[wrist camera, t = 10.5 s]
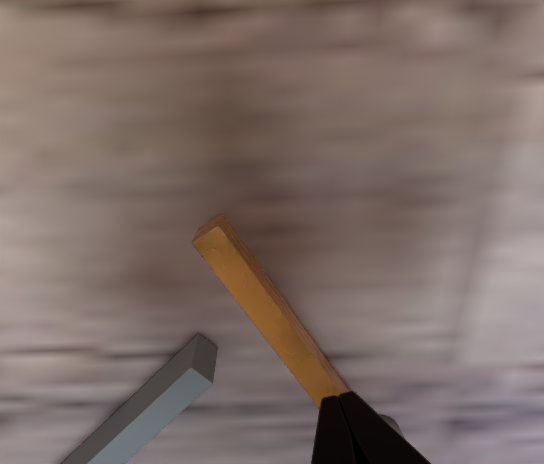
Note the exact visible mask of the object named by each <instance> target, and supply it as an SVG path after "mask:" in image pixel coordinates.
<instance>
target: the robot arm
mask: <svg viewBox="0 0 544 464" xmlns="http://www.w3.org/2000/svg"><path fill="white" fill-rule="evenodd" d="M311 464H431V463H430V462H429V461H428V460H427V459H426V458H425V457H424V456H422V455H421V454H420V453H419V452H418V451H417V450H416V449H415V448H414V447H413V446H412V445H411V444H410V443H409V442H408V441H406V440H405V439H404V438H403V437H402V436H401V435H400V434H399V433H398V432H397V431H396V430H395V429H394V428H393V427H391V426H390V425H389V424H388V423H387V422H386V421H385V420H384V419H383V418H382V417H381V416H380V415H379V414H378V413H377V412H375V411H374V410H373V409H372V408H371V407H370V406H369V405H368V404H367V403H366V402H365V401H364V400H363V399H362V398H360V397H359V396H358V395H357V394H356V393H355V392H354V391H348V392H344V393H340V394H339V395H338V396H337V395H332V396H328V397H324V398H322V400H321V404H320V410H319V417H318V423H317V429H316V435H315V442H314V448H313V454H312V461H311Z"/></svg>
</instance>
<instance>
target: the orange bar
mask: <svg viewBox="0 0 544 464" xmlns="http://www.w3.org/2000/svg"><path fill="white" fill-rule="evenodd" d="M192 244H193V245H194V247H195V248H196V249H197V251H198V252H199V253H200V254H201V256H202V257H203V258H204V260H205V261H206V262H207V264H208V265H209V266H210V267H211V269H212V270H213V271H214V273H215V274H216V275H217V277H218V278H219V279H220V280H221V282H222V283H223V284H224V286H225V287H226V288H227V290H228V291H229V292H230V293H231V295H232V296H233V297H234V299H235V300H236V301H237V302H238V304H239V305H240V306H241V308H242V309H243V310H244V312H245V313H246V314H247V315H248V317H249V318H250V319H251V321H252V322H253V323H254V325H255V326H256V327H257V328H258V330H259V331H260V332H261V334H262V335H263V336H264V338H265V339H266V340H267V341H268V343H269V344H270V345H271V347H272V348H273V349H274V351H275V352H276V353H277V354H278V356H279V357H280V358H281V360H282V361H283V362H284V364H285V365H286V366H287V367H288V369H289V370H290V371H291V373H292V374H293V375H294V377H295V378H296V379H297V380H298V382H299V383H300V384H301V386H302V387H303V388H304V390H305V391H306V392H307V393H308V395H309V396H310V397H311V399H312V400H313V401H314V402H315V404H316V405H317V406H318V408H319V409H320V404H321V400H322V398H324V397H328V396H332V395H337V396H338V395H339V394H340V393H344V392H348V391H349V390H348V389H347V387H346V386H345V385H344V383H343V382H342V380H341V379H340V378H339V376H338V375H337V373H336V372H335V371H334V369H333V368H332V366H331V365H330V364H329V362H328V361H327V359H326V358H325V357H324V355H323V354H322V353H321V351H320V350H319V348H318V347H317V346H316V344H315V343H314V341H313V340H312V339H311V337H310V336H309V334H308V333H307V332H306V330H305V329H304V327H303V326H302V325H301V323H300V322H299V320H298V319H297V318H296V316H295V315H294V313H293V312H292V311H291V309H290V308H289V306H288V305H287V304H286V302H285V301H284V299H283V298H282V297H281V295H280V294H279V292H278V291H277V290H276V288H275V287H274V285H273V284H272V283H271V281H270V280H269V278H268V277H267V276H266V274H265V273H264V271H263V270H262V269H261V267H260V266H259V264H258V263H257V262H256V260H255V259H254V257H253V256H252V255H251V253H250V252H249V250H248V249H247V248H246V246H245V245H244V243H243V242H242V241H241V239H240V238H239V236H238V235H237V234H236V232H235V231H234V229H233V228H232V227H231V225H230V224H229V222H228V221H227V220H226V218H225V217H224V215H223V214H220V215H219V216H217V217H216V218H214V219H213V220H211V221H209V222H208V223H206V224H205V225H203V226H202V227H200V228H199V229H198V231H197V233H196V235H195V237H194V239H193V241H192Z"/></svg>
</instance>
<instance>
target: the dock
mask: <svg viewBox="0 0 544 464" xmlns="http://www.w3.org/2000/svg"><path fill="white" fill-rule="evenodd" d="M216 356H217V347H216V346H215V345H213V344H212V343H211V342H209V341H208V340H207V339H206V338H204V337H203V336H202V335H200V334H199V333H198V334H197V335H196V336H195V337H194V338H193V339H192V340H191V341H190V342H189V343H188V344H187V345H186V346H185V347H184V348H183V349H182V350H181V351H179V352H178V353H177V354H176V355H175V356H174V357H173V358H172V359H171V360H170V361H169V362H168V363H167V364H166V365H165V366H164V367H163V368H162V369H160V370H159V371H158V372H157V373H156V374H155V375H154V376H153V377H152V378H151V379H150V380H149V381H148V382H147V383H146V384H145V385H144V386H143V387H141V388H140V389H139V390H138V391H137V392H136V393H135V394H134V395H133V396H132V397H131V398H130V399H129V400H128V401H127V402H126V403H125V404H124V405H122V406H121V407H120V408H119V409H118V410H117V411H116V412H115V413H114V414H113V415H112V416H111V417H110V418H109V419H108V420H107V421H106V422H105V423H103V424H102V425H101V426H100V427H99V428H98V429H97V430H96V431H95V432H94V433H93V434H92V435H91V436H90V437H89V438H88V439H87V440H86V441H84V442H83V443H82V444H81V445H80V446H79V447H78V448H77V449H76V450H75V451H74V452H73V453H72V454H71V455H70V456H69V457H68V458H67V459H66V460H64V461H63V462H62V463H61V464H124V463H126V462H127V461H128V460H129V459H130V458H131V457H132V456H133V455H134V454H135V453H137V452H138V451H139V450H140V449H141V448H142V447H143V446H144V445H145V444H147V443H148V442H149V441H150V440H151V439H152V438H153V437H154V436H155V435H156V434H158V433H159V432H160V431H161V430H162V429H163V428H164V427H165V426H166V425H168V424H169V423H170V422H171V421H172V420H173V419H174V418H175V417H176V416H177V415H179V414H180V413H181V412H182V411H183V410H184V409H185V408H186V407H187V406H189V405H190V404H191V403H192V402H193V401H194V400H195V399H196V398H197V397H199V396H200V395H201V394H202V393H203V392H204V391H205V390H206V389H207V388H208V387H210V386H211V385H212V384H213V379H214V371H215V364H216ZM380 416H381V417H382V418H383V419H384V420H385V421H386V422H387V423H388V424H389V425H390V426H391V427H393V428H394V429H395V430H396V431H397V432H398V433H399V434H400V435H401V436H402V437H403V438H404V436H403V434H402V432H401V430H400V429H399V427H398V425H397V423H396V422H395V421H394V420H393V419H392V418H390V417H387V416H384V415H380ZM404 439H405V438H404Z"/></svg>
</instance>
